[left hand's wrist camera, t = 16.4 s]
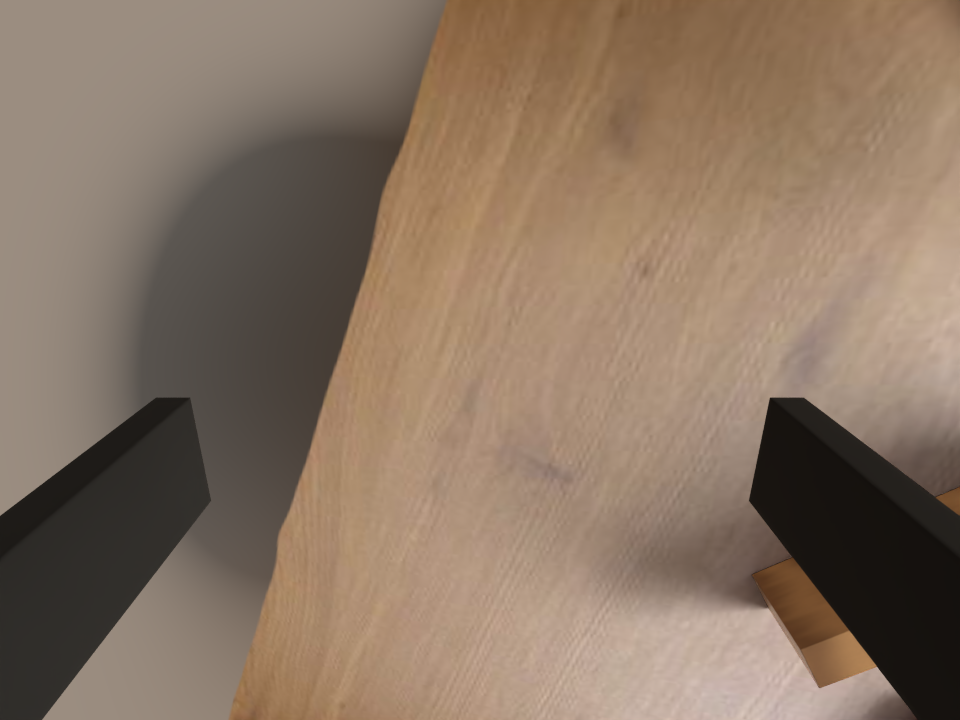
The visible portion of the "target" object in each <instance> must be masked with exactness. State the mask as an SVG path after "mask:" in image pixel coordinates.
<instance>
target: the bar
mask: <svg viewBox="0 0 960 720" xmlns="http://www.w3.org/2000/svg"><path fill="white" fill-rule="evenodd" d="M935 498H937V499H938V500H939V501H941V502H942V503H943V504H945V505H946V506H947V507H949V508H950V509H951V510H953V511H954V512H955V513H957V514H958V515H960V487H959V488H956V489H954V490H952V491H949V492H947V493H945V494H942V495H940V496H937V497H935ZM752 576H753V578H754V580H755V582H756V584H757V586H758V588H759V590H760V592H761V594H762V596H763V598H764V600H765V602H766V604H767V606H768V608H769V610H770V611H771V613H772V614H773V616H774V618H775V619H776V621H777V622H778V624H779V625H780V627H781V629H782V630H783V632H784V633H785V635H786V636H787V638H788V640H789V641H790V643H791V644H792V646H793V647H794V649H795V651H796V652H797V654H798V655H799V657H800V658H801V660H802V662H803V663H804V665H805V666H806V668H807V670H808V671H809V673H810V674H811V676H812V677H813V679H814V681H815V682H816V684H817V685H818V687H819V688H822V687H824V686H827V685H830V684H832V683H835V682H838V681H840V680H843V679H846V678H848V677H851V676H854V675H856V674H859V673H862V672H864V671H867V670H870V669H872V668H875V667H877V666H876V665H875V663H874V662H873V661H872V659H871V658H870V657H869V656H868V654H867V653H866V652H865V650H864V649H863V648H862V646H861V645H860V644H859V643H858V641H857V640H856V639H855V637H854V636H853V635H852V634H851V632H850V631H849V630H848V628H847V627H846V626H845V624H844V623H843V622H842V621H841V619H840V618H839V617H838V615H837V614H836V613H835V611H834V610H833V609H832V608H831V606H830V605H829V604H828V602H827V601H826V600H825V599H824V597H823V596H822V595H821V593H820V592H819V591H818V589H817V588H816V587H815V586H814V584H813V583H812V582H811V580H810V579H809V578H808V577H807V575H806V574H805V573H804V571H803V570H802V569H801V567H800V566H799V565H798V564H797V562H796V561H795V560H794V558H790V559H788V560H786V561H783V562H781V563H778V564H776V565H774V566H771V567H769V568H767V569H764V570H762V571H759V572H757V573H755V574H752Z"/></svg>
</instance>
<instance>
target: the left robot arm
mask: <svg viewBox="0 0 960 720" xmlns="http://www.w3.org/2000/svg"><path fill="white" fill-rule="evenodd" d="M210 501H211V498H210V494H209V489H208V484H207V479H206V474H205V469H204V464H203V459H202V454H201V449H200V444H199V440H198V435H197V430H196V425H195V420H194V415H193V410H192V405H191V400H190V398H155V399H154V400H153V401H151V402H150V403H149V404H147V405H146V406H145V407H143V408H142V409H141V410H139V411H138V412H137V413H135V414H134V415H133V416H131V417H130V418H129V419H127V420H126V421H125V422H123V423H122V424H121V425H120V426H118V427H117V428H116V429H114V430H113V431H112V432H110V433H109V434H108V435H106V436H105V437H104V438H102V439H101V440H100V441H98V442H97V443H96V444H95V445H93V446H92V447H91V448H89V449H88V450H87V451H85V452H84V453H83V454H81V455H80V456H79V457H77V458H76V459H75V460H73V461H72V462H71V463H69V464H68V465H67V466H65V467H64V468H63V469H61V470H60V471H59V472H58V473H56V474H55V475H54V476H52V477H51V478H50V479H48V480H47V481H46V482H44V483H43V484H42V485H40V486H39V487H38V488H36V489H35V490H34V491H33V492H31V493H30V494H28V495H27V496H26V497H25V498H23V499H22V500H21V501H19V502H18V503H17V504H15V505H14V506H13V507H11V508H10V509H9V510H7V511H6V512H5V513H4V514H2V515H1V516H0V720H42V719H43V718H44V716H45V715H46V714H47V713H48V711H49V710H50V709H51V707H52V706H53V705H54V703H55V702H56V701H57V699H58V698H59V697H60V696H61V694H62V693H63V692H64V690H65V689H66V688H67V687H68V685H69V684H70V683H71V681H72V680H73V679H74V678H75V676H76V675H77V674H78V672H79V671H80V670H81V668H82V667H83V666H84V664H85V663H86V662H87V661H88V659H89V658H90V657H91V656H92V654H93V653H94V652H95V650H96V649H97V648H98V646H99V645H100V644H101V643H102V641H103V640H104V639H105V637H106V636H107V635H108V634H109V632H110V631H111V630H112V628H113V627H114V626H115V624H116V623H117V622H118V620H119V619H120V618H121V617H122V615H123V614H124V613H125V611H126V610H127V609H128V608H129V606H130V605H131V604H132V602H133V601H134V600H135V598H136V597H137V596H138V595H139V593H140V592H141V591H142V589H143V588H144V587H145V586H146V584H147V583H148V582H149V580H150V579H151V578H152V576H153V575H154V574H155V573H156V571H157V570H158V569H159V567H160V566H161V565H162V564H163V562H164V561H165V560H166V558H167V557H168V556H169V554H170V553H171V552H172V551H173V549H174V548H175V547H176V545H177V544H178V543H179V542H180V540H181V539H182V538H183V536H184V535H185V534H186V532H187V531H188V530H189V528H190V527H191V526H192V525H193V523H194V522H195V521H196V519H197V518H198V517H199V516H200V514H201V513H202V512H203V510H204V509H205V508H206V507H207V505H208V504H209V503H210ZM749 501H750V503H751V504H752V505H753V507H754V508H755V509H756V510H757V512H758V513H759V514H760V516H761V517H762V518H763V520H764V521H765V522H766V523H767V525H768V526H769V527H770V529H771V530H772V531H773V532H774V534H775V535H776V536H777V538H778V539H779V540H780V542H781V543H782V544H783V545H784V547H785V548H786V549H787V551H788V552H789V553H790V554H791V556H792V557H793V558H794V560H795V561H796V562H797V564H798V565H799V566H800V567H801V569H802V570H803V571H804V573H805V574H806V575H807V577H808V578H809V579H810V580H811V582H812V583H813V584H814V586H815V587H816V588H817V589H818V591H819V592H820V593H821V595H822V596H823V597H824V599H825V600H826V601H827V602H828V604H829V605H830V606H831V608H832V609H833V610H834V611H835V613H836V614H837V615H838V617H839V618H840V619H841V621H842V622H843V623H844V624H845V626H846V627H847V628H848V630H849V631H850V632H851V634H852V635H853V636H854V637H855V639H856V640H857V641H858V643H859V644H860V645H861V646H862V648H863V649H864V650H865V652H866V653H867V654H868V656H869V657H870V658H871V659H872V661H873V662H874V663H875V665H876V666H877V667H878V668H879V670H880V671H881V672H882V674H883V675H884V676H885V678H886V679H887V680H888V681H889V683H890V684H891V685H892V687H893V688H894V689H895V691H896V692H897V693H898V694H899V696H900V697H901V698H902V700H903V701H904V702H905V703H906V705H907V706H908V707H909V709H910V710H911V711H912V713H913V714H914V715H915V716H916V718H917V719H918V720H960V515H958V514H957V513H955V512H954V511H953V510H951V509H950V508H949V507H947V506H946V505H945V504H943V503H942V502H941V501H939V500H938V499H937V498H935V497H934V496H933V495H932V494H930V493H929V492H928V491H926V490H925V489H924V488H922V487H921V486H920V485H918V484H917V483H916V482H914V481H913V480H912V479H910V478H909V477H908V476H906V475H905V474H904V473H902V472H901V471H900V470H899V469H897V468H896V467H895V466H893V465H892V464H891V463H889V462H888V461H887V460H885V459H884V458H883V457H881V456H880V455H879V454H877V453H876V452H875V451H873V450H872V449H871V448H869V447H868V446H867V445H866V444H864V443H863V442H862V441H860V440H859V439H858V438H856V437H855V436H854V435H852V434H851V433H850V432H848V431H847V430H846V429H844V428H843V427H842V426H840V425H839V424H838V423H837V422H835V421H834V420H833V419H831V418H830V417H829V416H827V415H826V414H825V413H823V412H822V411H821V410H819V409H818V408H817V407H815V406H814V405H813V404H811V403H810V402H809V401H807V400H806V399H805V398H770V400H769V405H768V410H767V415H766V420H765V425H764V430H763V435H762V439H761V444H760V449H759V454H758V459H757V464H756V469H755V474H754V479H753V484H752V489H751V493H750V498H749Z"/></svg>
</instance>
